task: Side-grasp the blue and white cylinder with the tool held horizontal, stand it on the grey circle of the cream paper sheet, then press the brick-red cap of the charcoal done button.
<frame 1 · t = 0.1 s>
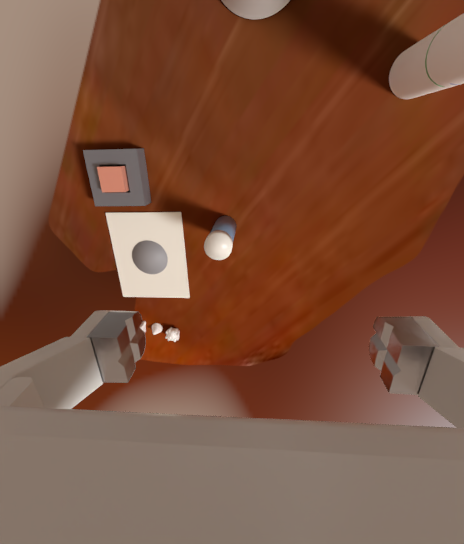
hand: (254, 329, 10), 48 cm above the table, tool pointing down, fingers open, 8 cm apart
done button: (114, 178, 52), point 3 cm above the table, slide at 0.0 cm
button housing: (123, 176, 55), on the table
blue and white cylinder: (225, 226, 58), on the table
paper sheet: (150, 257, 62), on the table
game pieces: (157, 326, 70), on the table
cylindrical container: (411, 73, 45), on the table
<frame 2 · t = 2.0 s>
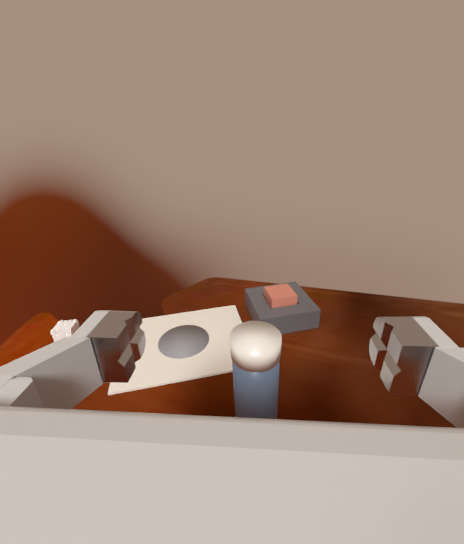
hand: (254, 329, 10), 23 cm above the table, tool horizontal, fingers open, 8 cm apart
done button: (279, 298, 48), point 3 cm above the table, slide at 0.0 cm
button housing: (279, 315, 50), on the table
blue and white cylinder: (256, 431, 30), on the table
paper sheet: (184, 342, 44), on the table
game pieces: (57, 360, 43), on the table
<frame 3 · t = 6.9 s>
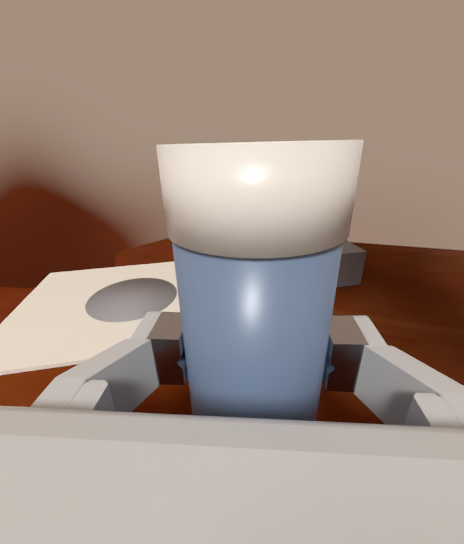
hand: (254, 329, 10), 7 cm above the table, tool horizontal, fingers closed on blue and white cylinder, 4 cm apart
button housing: (293, 269, 31), on the table
blue and white cylinder: (252, 477, 12), on the table, touching gripper
paper sheet: (133, 300, 26), on the table
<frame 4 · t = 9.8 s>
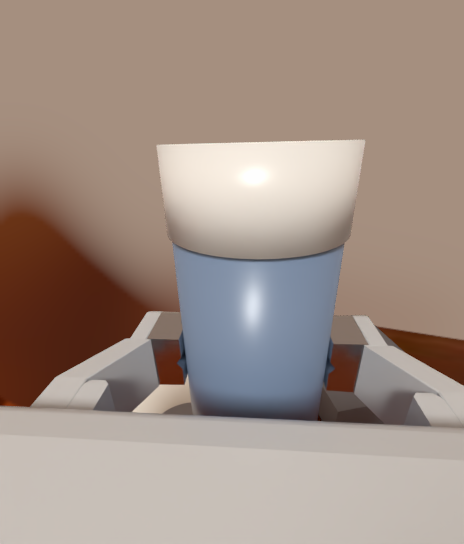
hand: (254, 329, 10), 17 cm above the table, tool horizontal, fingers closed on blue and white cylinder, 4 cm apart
button housing: (353, 385, 29), on the table
blue and white cylinder: (252, 478, 12), point 10 cm above the table, touching gripper
paper sheet: (188, 445, 24), on the table
when the fingers open (8 cm above the table, at t = 13.2 s): blue and white cylinder stays where it is, resting on paper sheet.
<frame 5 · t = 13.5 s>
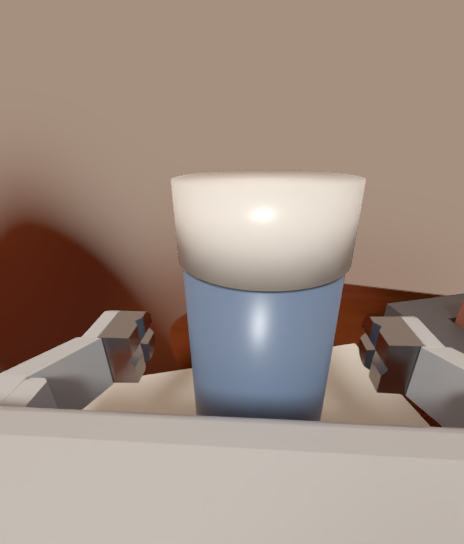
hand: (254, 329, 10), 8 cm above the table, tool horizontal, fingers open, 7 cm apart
blue and white cylinder: (254, 488, 12), resting on paper sheet
paper sheet: (252, 493, 12), on the table
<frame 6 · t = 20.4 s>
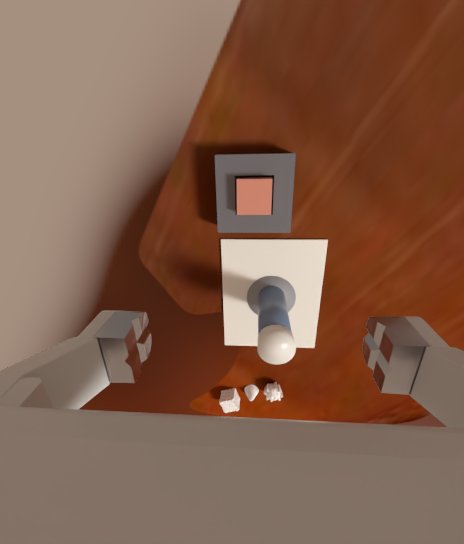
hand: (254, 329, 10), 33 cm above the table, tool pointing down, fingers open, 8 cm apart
done button: (254, 195, 37), point 3 cm above the table, slide at 0.0 cm
button housing: (254, 191, 40), on the table
blue and white cylinder: (271, 297, 46), resting on paper sheet
paper sheet: (271, 296, 46), on the table
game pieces: (251, 388, 56), on the table
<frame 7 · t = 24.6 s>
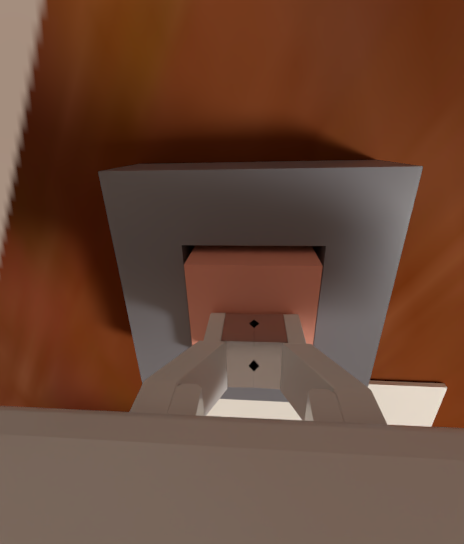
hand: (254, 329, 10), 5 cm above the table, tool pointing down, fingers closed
done button: (251, 300, 11), point 3 cm above the table, slide at 0.5 cm, touching gripper
button housing: (252, 269, 14), on the table
paper sheet: (290, 478, 21), on the table
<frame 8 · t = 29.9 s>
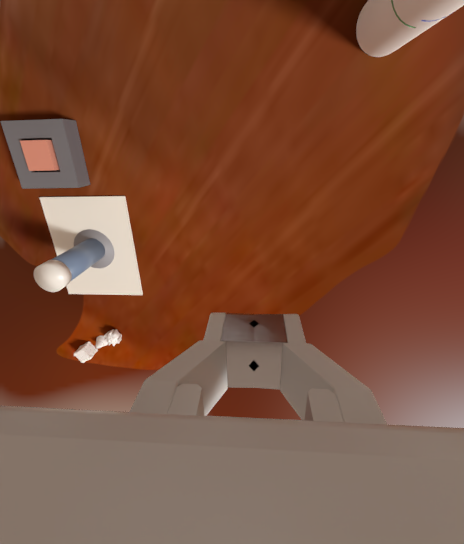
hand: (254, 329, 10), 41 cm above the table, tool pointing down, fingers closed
done button: (44, 155, 45), point 3 cm above the table, slide at 0.7 cm
button housing: (55, 154, 48), on the table
blue and white cylinder: (94, 249, 54), resting on paper sheet
paper sheet: (95, 248, 54), on the table
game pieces: (103, 339, 65), on the table
cylindrical container: (383, 24, 38), on the table
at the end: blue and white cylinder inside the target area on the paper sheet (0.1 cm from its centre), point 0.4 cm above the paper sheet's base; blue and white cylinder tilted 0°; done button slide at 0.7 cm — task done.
